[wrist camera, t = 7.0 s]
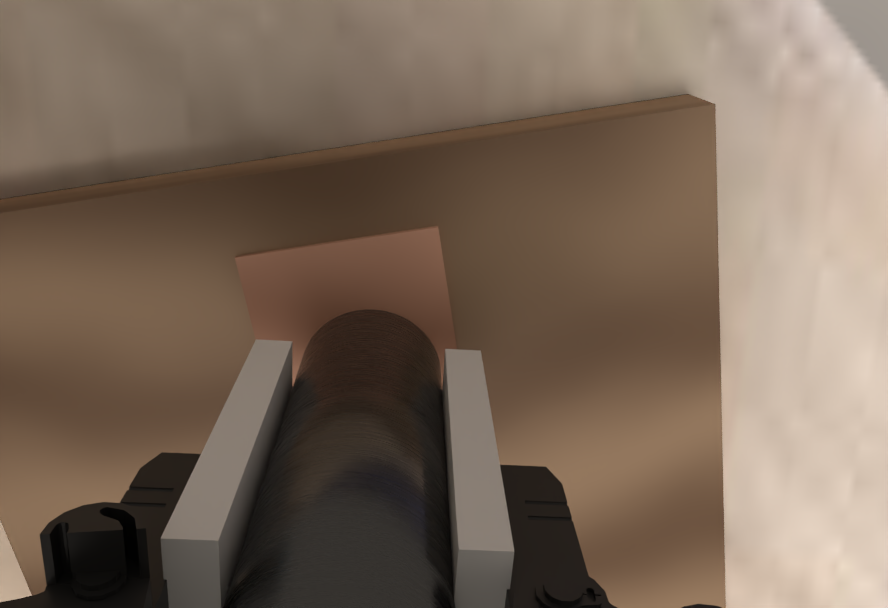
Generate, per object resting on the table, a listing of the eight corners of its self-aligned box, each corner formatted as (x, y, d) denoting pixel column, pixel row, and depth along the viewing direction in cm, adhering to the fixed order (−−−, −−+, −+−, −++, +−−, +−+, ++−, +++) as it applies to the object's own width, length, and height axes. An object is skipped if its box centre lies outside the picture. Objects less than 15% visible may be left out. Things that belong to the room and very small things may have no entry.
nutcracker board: (-73, 210, 21) (-222, 275, 16) (687, 94, 20) (771, 125, 16) (172, 833, 30) (125, 997, 25) (709, 761, 29) (768, 915, 24)
